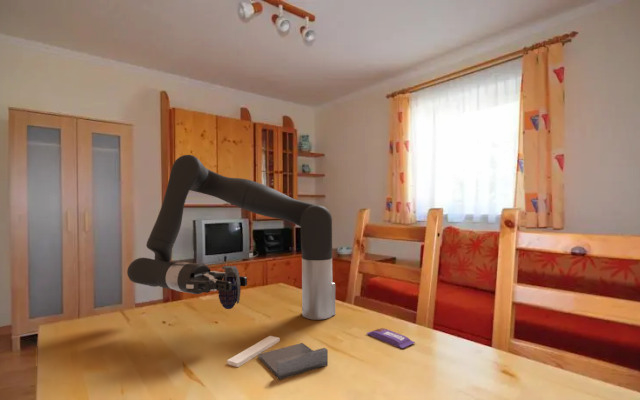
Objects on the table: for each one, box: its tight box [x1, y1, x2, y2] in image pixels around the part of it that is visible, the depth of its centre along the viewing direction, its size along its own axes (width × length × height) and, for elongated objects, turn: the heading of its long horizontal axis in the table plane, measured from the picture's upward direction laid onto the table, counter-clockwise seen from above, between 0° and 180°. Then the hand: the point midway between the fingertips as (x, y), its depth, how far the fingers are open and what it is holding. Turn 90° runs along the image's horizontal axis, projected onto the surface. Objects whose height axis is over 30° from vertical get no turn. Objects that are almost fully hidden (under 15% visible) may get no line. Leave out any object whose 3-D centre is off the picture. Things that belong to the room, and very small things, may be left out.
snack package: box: [366, 327, 415, 349], centre depth 83 cm, size 12×2×5 cm
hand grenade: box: [217, 265, 242, 310], centre depth 81 cm, size 6×5×10 cm
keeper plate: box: [257, 342, 329, 381], centre depth 72 cm, size 11×11×3 cm
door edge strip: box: [226, 335, 281, 368], centre depth 77 cm, size 15×3×1 cm, turn 152°
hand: (238, 284), depth 79 cm, fingers closed on hand grenade, 4 cm apart
